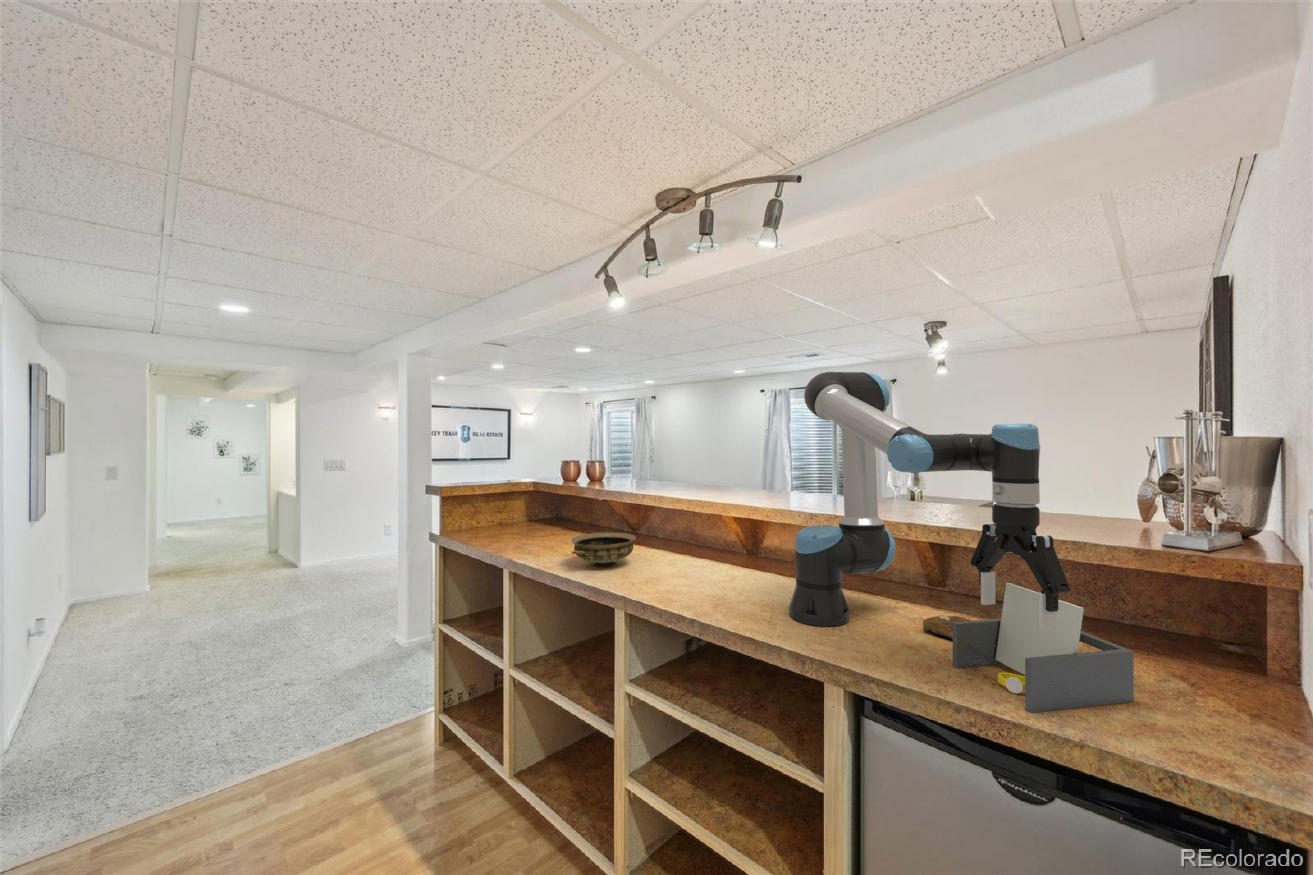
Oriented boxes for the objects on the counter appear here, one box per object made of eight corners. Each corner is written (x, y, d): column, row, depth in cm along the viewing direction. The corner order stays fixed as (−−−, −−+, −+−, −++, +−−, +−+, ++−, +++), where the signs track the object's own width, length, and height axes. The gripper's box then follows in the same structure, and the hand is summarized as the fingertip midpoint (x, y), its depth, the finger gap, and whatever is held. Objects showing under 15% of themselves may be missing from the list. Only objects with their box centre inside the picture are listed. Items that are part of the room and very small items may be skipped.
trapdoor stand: (952, 665, 111) (952, 622, 111) (1040, 657, 114) (1040, 615, 114) (1031, 712, 92) (1031, 660, 92) (1133, 701, 95) (1133, 651, 95)
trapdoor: (999, 659, 111) (995, 659, 111) (1010, 583, 111) (1006, 582, 111) (1071, 697, 95) (1066, 697, 95) (1083, 608, 95) (1079, 607, 95)
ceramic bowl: (609, 553, 217) (608, 528, 217) (654, 561, 202) (654, 535, 202) (551, 568, 194) (550, 540, 194) (597, 579, 179) (597, 549, 179)
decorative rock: (1002, 639, 126) (933, 625, 136) (1001, 622, 126) (933, 609, 137) (988, 651, 118) (917, 635, 128) (987, 632, 118) (916, 618, 129)
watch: (1001, 681, 105) (994, 688, 101) (1001, 667, 105) (994, 672, 101) (1038, 691, 101) (1032, 698, 97) (1038, 675, 101) (1032, 682, 97)
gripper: (951, 497, 114) (951, 596, 114) (1057, 515, 89) (1057, 641, 89) (982, 496, 115) (983, 594, 115) (1095, 513, 90) (1096, 638, 90)
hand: (1015, 615), depth 102 cm, fingers open, 13 cm apart
